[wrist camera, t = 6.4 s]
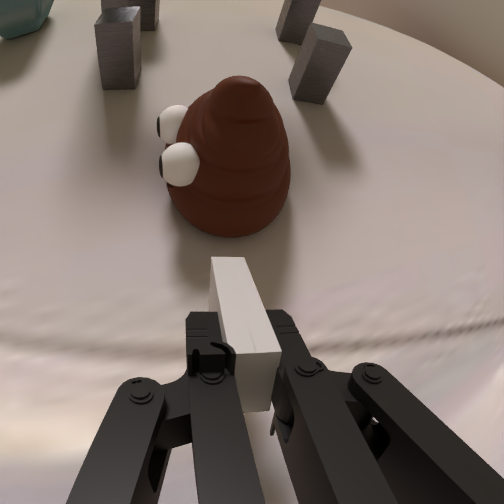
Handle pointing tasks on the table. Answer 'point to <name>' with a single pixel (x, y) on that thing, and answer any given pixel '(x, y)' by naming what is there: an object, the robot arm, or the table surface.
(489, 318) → the table surface
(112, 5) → the sight ring stand
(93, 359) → the table surface
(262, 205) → the poop emoji
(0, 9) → the flower pot
